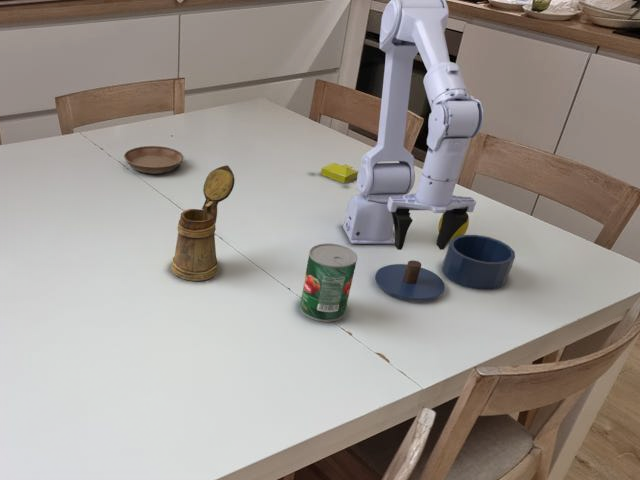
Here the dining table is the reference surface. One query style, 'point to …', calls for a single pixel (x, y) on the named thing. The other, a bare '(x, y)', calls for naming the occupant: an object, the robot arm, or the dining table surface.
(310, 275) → the canned tomato
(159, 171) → the saucer
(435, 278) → the pot lid
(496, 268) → the pot
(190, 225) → the wooden mug
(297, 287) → the dining table surface
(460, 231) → the lemon
